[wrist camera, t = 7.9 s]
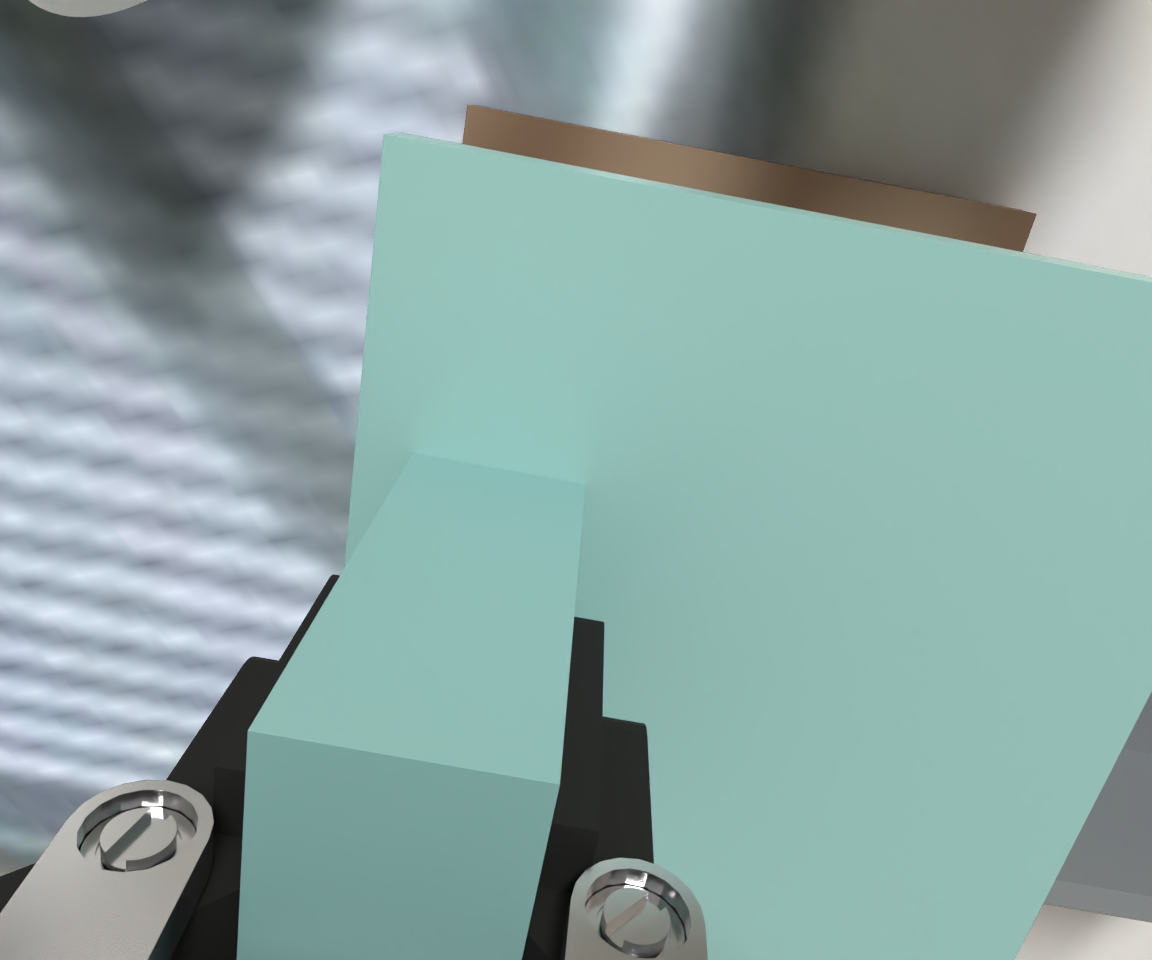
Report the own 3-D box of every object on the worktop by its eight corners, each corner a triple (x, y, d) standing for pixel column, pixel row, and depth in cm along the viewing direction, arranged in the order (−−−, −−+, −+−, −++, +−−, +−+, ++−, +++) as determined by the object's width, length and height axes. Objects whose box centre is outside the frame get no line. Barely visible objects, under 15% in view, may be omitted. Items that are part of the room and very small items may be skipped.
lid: (1230, 287, 13) (2059, 524, 6) (922, 961, 19) (1133, 1551, 11) (420, 130, 13) (138, 158, 5) (343, 863, 18) (147, 1401, 11)
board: (1019, 209, 23) (1036, 214, 22) (856, 667, 28) (864, 686, 27) (473, 104, 22) (467, 105, 22) (414, 588, 28) (407, 604, 27)
